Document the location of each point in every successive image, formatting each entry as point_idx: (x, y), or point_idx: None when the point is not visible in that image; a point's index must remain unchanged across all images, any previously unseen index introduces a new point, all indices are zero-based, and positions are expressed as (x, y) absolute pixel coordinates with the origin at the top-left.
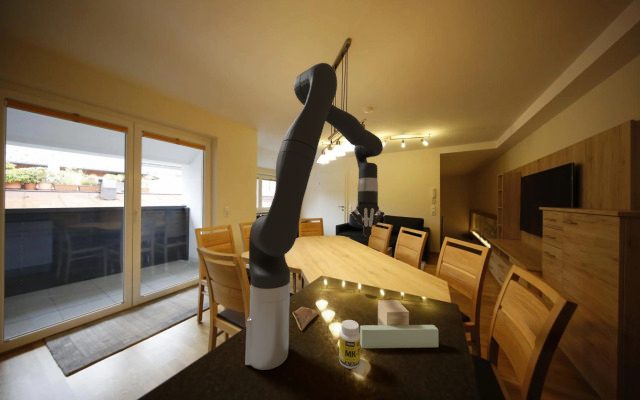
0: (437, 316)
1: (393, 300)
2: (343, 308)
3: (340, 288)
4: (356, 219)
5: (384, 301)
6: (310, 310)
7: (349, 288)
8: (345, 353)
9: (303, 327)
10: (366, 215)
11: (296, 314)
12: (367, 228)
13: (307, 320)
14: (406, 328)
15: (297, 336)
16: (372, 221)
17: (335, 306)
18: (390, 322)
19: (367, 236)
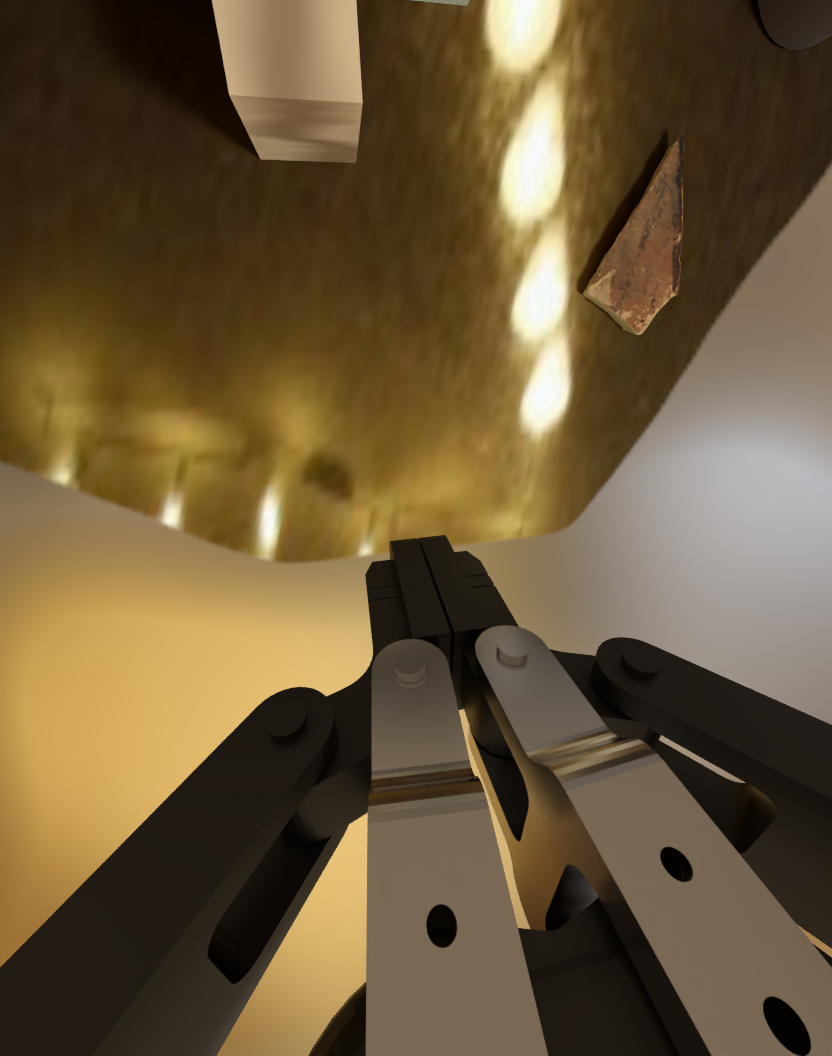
0: (18, 272)
1: (259, 90)
2: (470, 352)
3: None
4: (829, 732)
5: (324, 74)
6: (618, 295)
7: None
8: None
9: (667, 154)
10: (715, 967)
11: (674, 262)
12: (457, 607)
13: (645, 207)
14: None
15: (693, 99)
16: (331, 855)
17: (498, 370)
18: None
19: (422, 538)
